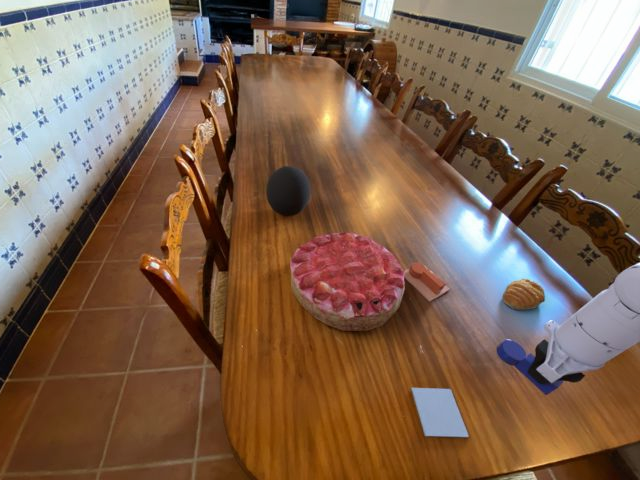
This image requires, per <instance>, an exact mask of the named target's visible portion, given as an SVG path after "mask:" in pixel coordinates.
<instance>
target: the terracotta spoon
mask: <svg viewBox="0 0 640 480" xmlns="http://www.w3.org/2000/svg"><path fill="white" fill-rule="evenodd" d="M409 268H410V269H409ZM409 268H408V269H409V274H410V275H411V276H412V277H414V278H416V279H419V280H420V281H421V282H422V283H424V284H425V285H426V286H427V287H428V288H429V289H430V290H431V291H432V292H433V293H434V294H435V295H437V294H438V293H440V292H441V291H442V289H443V288H444V286H446V285H447V283H446V282H444V280H443V279H441V278H440V277H439V276H438V275H436V273H434V272H433V271H432V270H431V269H429V268H427V267H426V265H424V264H423V263H420V262H417V261H415V262H412V263H411V265H410V267H409Z"/></svg>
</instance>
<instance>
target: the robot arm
mask: <svg viewBox="0 0 640 480" xmlns="http://www.w3.org/2000/svg"><path fill="white" fill-rule="evenodd" d="M543 329H544V330H545V331H546V332H548V334H549V337H548V341H547V339H545V338H543V339H542V340H541V341H540V342H539V343H538V344H536V346H535V349H534V352H535V353H534V357H535V359H534V361H533V363H532V364H531V366H530V367H529V369H528V371H527V373H528V374H529V375H530V376H531V377H532V378H533V379H535V380H536V381H537V382H538V383H539V384H545V383H550V382H551V383H553V382H555V381H563V382H569V383H579V382H581V381H582V380H583V379H584V378H585V377H586V375H585V374H584V372H591V371H596V370H600V369H601V368H603V367H605V365H606V363H607V362H609V361H610V360H612V359H614V358H615V357H617V356H619V355H620V354H622V353H623V352H625V351H627V350H629V349H630V348H632V347H633V346H635V345H636V344H638V343H640V261H639V262H637V263H635V264H633V265H631V266H629V267H627V268H625V269H624V270H622V271H621V272H620V273H619V274H618V275H617V276H616V278H615V279H614V282H613V283H612V284H610V285H609V287H608V288H606V289H604V290H602V291H600V292H598V294H597V295H595V296H594V297H593V298H591V299H590V300H589V301H588V302H587V303H585V304H584V305H583V306H582V307H580V308H579V309H578V310H577V311H575V313H574V314H572V315H571V316H569V317H568V318H567V319H566V320H564V321H563V322H562V323H561V324H559V323H558V322H557V321H555V320H552V319H550V320H549V321H547V322H546V323H545V324H544V325H543Z"/></svg>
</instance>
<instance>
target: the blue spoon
mask: <svg viewBox="0 0 640 480" xmlns="http://www.w3.org/2000/svg"><path fill="white" fill-rule="evenodd" d="M495 350H496V355H497V356H498V358H500V359H501V361H502V362H503V363H505V364H506V365H508V366H512V367H515V368H516V370H517V371H519V372H520V373H521V374H522V375H523V376H524V377H525V378H526V379H528V381H530V382H531V384H533V385H534V386H535V387H536V388H537V389H538V390H539V391H540V392H541V393H543V394H544V395H545V396H548V395H549V394H551V393H552V392H554V391H555V390H557V389H559V388H560V387H561V386H562V385H563V383H564V381H555V382H553V383H551V382H550V383H545V384H539V383H538V382H537V381H536V380H535V379H533V378H532V377H531V376H530V375H529V374H528V373H527V371H528V369H529V367H530V366H531V364H532V363H533V361H534V359H535V355H533V353H528V354H527V352H526V350H525V348H524V347H523V346H522V345H521V344H520V343H519V342H517V341H514V340H512V339H504V340H503V341H502V342H501V343H499V345H497V346H496V349H495Z"/></svg>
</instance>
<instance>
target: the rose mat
mask: <svg viewBox="0 0 640 480" xmlns="http://www.w3.org/2000/svg"><path fill="white" fill-rule="evenodd" d="M409 269H410V267H409V268H407V269H405V270H404V280H406V281H407V283H408V284H410V285H411V286H412V287H413V288H414V289H415V290H416V291H417V292H418V293H419V294H420V295H421V296H422V297H423V298H424V299H425V300H427V301H428V303H431V302H433V301H434V300H436V299H437V298H439V297H441V296H442V295H444V294H446V293H447V292H449V291H450V288H449V287H448V286H446V285H445V286H444V288H443V289H442V291H441V292H440V293H438V294H437V295H435V294H434V293H433V292H432V291H431V290H430V289H429V288H428V287H427V286H426V285H425V284H424V283H422V282H421V281H420V280H419V279H416V278H414V277H412V276H411V275H410V274H409Z"/></svg>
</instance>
